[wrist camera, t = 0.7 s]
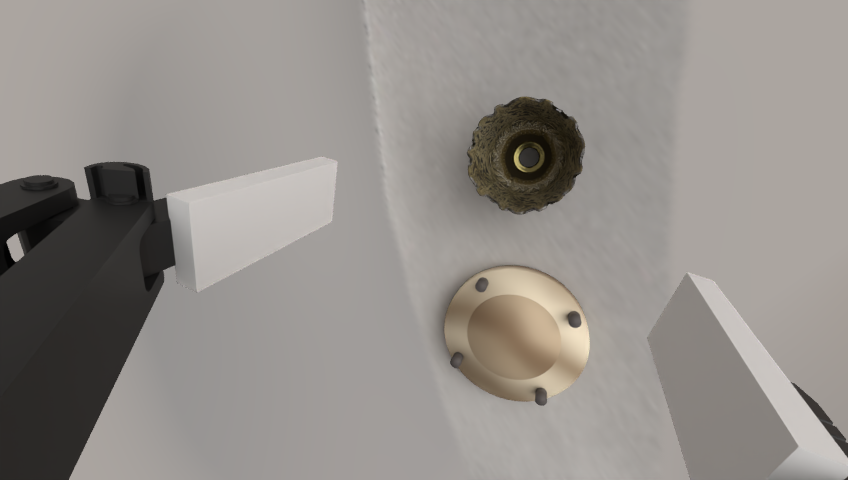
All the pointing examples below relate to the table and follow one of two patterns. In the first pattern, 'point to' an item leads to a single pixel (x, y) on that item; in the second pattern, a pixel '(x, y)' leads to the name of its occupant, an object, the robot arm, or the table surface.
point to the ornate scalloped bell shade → (508, 137)
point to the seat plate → (517, 333)
